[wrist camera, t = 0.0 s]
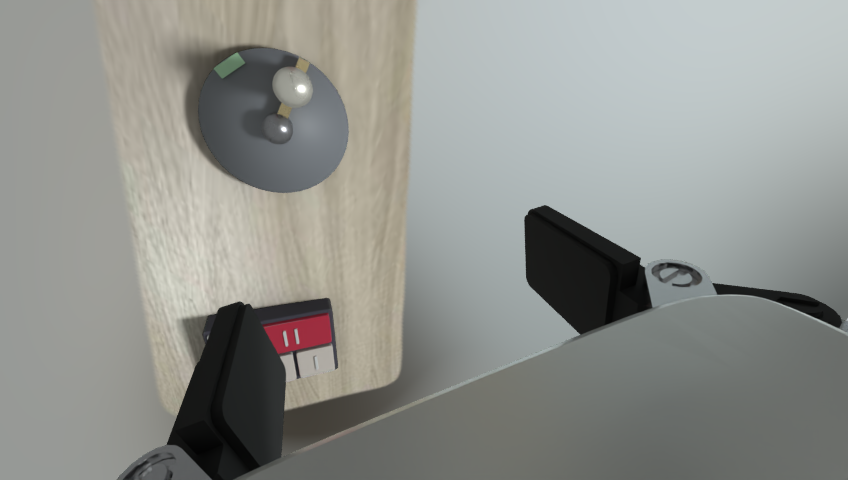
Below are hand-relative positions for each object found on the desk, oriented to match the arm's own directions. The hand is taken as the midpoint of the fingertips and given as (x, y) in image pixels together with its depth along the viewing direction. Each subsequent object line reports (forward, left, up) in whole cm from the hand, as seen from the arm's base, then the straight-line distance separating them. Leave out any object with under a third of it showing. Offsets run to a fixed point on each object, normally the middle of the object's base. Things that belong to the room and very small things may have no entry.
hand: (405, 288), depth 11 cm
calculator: (+29, +4, -32) cm, 43 cm away
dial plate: (+2, -5, -31) cm, 32 cm away
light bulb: (-1, -5, -29) cm, 30 cm away
